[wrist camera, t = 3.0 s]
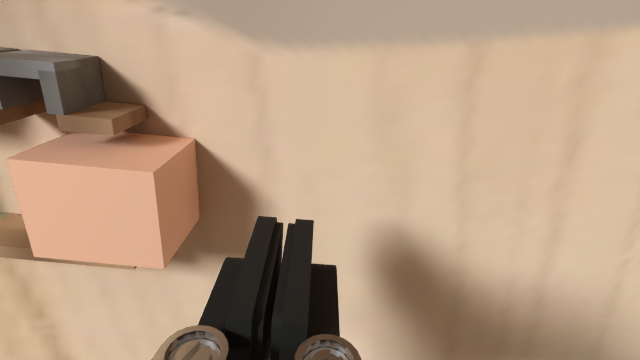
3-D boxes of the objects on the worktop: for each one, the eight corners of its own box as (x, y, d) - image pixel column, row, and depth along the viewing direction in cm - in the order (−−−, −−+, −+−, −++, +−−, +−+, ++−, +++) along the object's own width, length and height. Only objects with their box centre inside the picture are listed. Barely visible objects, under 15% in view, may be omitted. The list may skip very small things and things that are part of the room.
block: (195, 137, 16) (153, 172, 12) (200, 217, 17) (164, 269, 14) (82, 127, 16) (5, 158, 12) (97, 207, 17) (33, 256, 14)
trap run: (140, 60, 14) (103, 67, 12) (160, 237, 18) (134, 269, 15) (-115, 36, 14) (-201, 39, 12) (-47, 218, 18) (-103, 247, 15)
